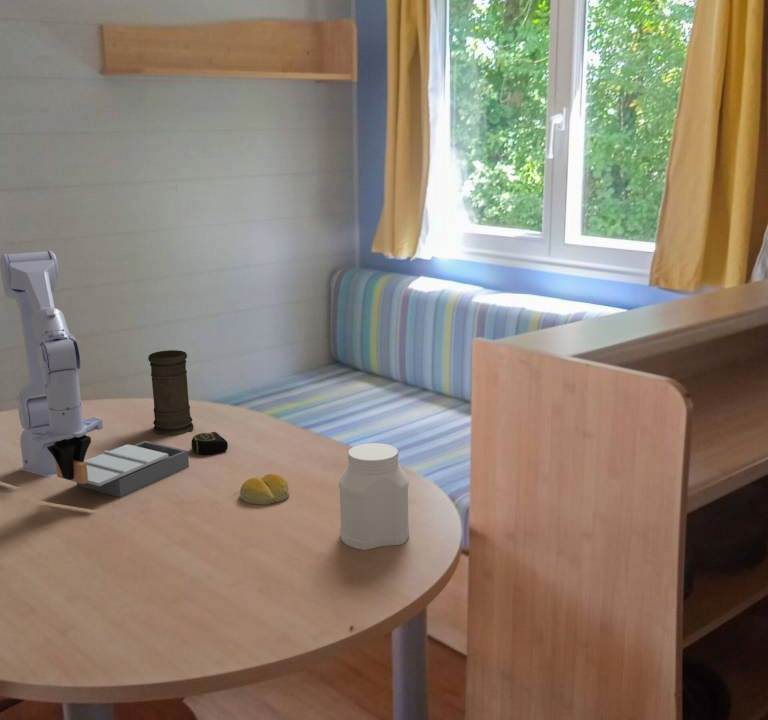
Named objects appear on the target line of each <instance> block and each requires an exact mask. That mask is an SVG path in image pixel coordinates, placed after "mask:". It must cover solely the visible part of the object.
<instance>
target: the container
mask: <svg viewBox="0 0 768 720" xmlns="http://www.w3.org/2000/svg"><path fill="white" fill-rule="evenodd" d="M187 354H188V353H187V352H186V351H183V350H177V349H176V350H175V349H174V350H173V349H172V350H171V349H169V350H161V351H155V352H152V353H151V354H149V355H148V358H147V361H149V362H150V363H149V365H150V369H151V370H150V371H151V372H150V376H151V383H152V385H151V386H152V396H153V397H152V398H153V415H154V421H153V422H152V424H153V425H154V427H153V432H154V433H155V434H157V435H160V436H179V435H184V434H188V433H192V432H193V430H194V427H195V426H194V424H193V422H192V421H193V418H192V416H191V406H190V399H189V392H188V390H189V389H188V388H189V386H188V377H187V373H188V371H187V369H186V368H187V367H186V366H187V365H186V364H187V360H186V359H188V355H187Z"/></svg>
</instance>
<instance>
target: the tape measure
mask: <svg viewBox="0 0 768 720" xmlns="http://www.w3.org/2000/svg"><path fill="white" fill-rule="evenodd" d="M190 444H191V445H190V446H191V449H192V452H194V454H197V455H199V456H200V455H201V456H202V455H203V456H210V455H215V454H219V453H223V452H226V451H228V447H229V445H228V441H227V440H226V439H225V438H224V437H222V436H221V435H220V434H219V433H218V432H217V431H211V432H201V433H197V434H195V435H194V436H192V438H191V443H190Z"/></svg>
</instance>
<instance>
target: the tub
mask: <svg viewBox="0 0 768 720" xmlns="http://www.w3.org/2000/svg"><path fill="white" fill-rule="evenodd" d="M133 446H137V447H141V448H146V449H150V450H154V451H158V452H162V453H167V454H168V456H170V457H168V458H166V459H163V460H161V461H159V462H156V463H154V464H152V465H149V466H147V467H145V468H141V469H139V470H136V471H134V472H132V473H129V474H127V475H125V476H122V477H120V478H117V479H115V480H113V481H110V482H108V483H106V484H103V485H101V486H96V485H93V484H89V483H84V484H81V483H78V482H76V485H77V486H79V487H83V488H86V489H90V490H92V491H93V490H94V491H96V492H100V493H102V494H107V495H110V496H114V497H118V498H123V497H125V496H128V495H130V494H132V493H134V492H136V491H138V490H140V489H143V488H145V487H148V486H150V485H153V484H155V483H156V482H159V481H161V480H163V479H166V478H167V477H170V476H173V475H175V474H176V473H179V472H181V471H183V470H185V469H188V468H189V467H190V464H189V463H190V462H189V451H188V450H186V449H183V448H182V449H181V448H178V447H173V446H168V445H164V444H160V443H156V442H151V441H147V440H144V441H142V442H138V443H136V444H133Z"/></svg>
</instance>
